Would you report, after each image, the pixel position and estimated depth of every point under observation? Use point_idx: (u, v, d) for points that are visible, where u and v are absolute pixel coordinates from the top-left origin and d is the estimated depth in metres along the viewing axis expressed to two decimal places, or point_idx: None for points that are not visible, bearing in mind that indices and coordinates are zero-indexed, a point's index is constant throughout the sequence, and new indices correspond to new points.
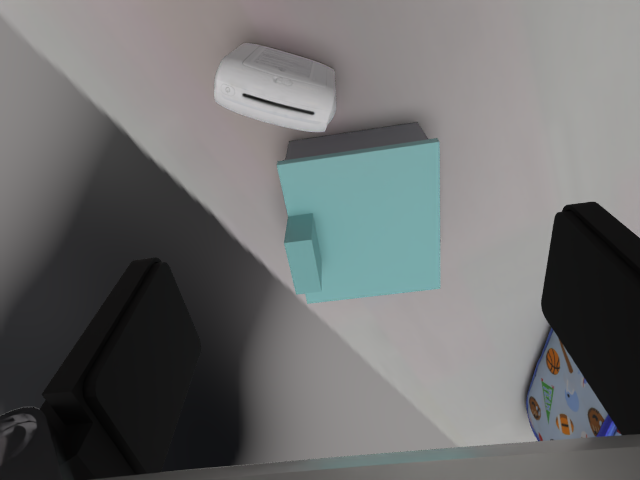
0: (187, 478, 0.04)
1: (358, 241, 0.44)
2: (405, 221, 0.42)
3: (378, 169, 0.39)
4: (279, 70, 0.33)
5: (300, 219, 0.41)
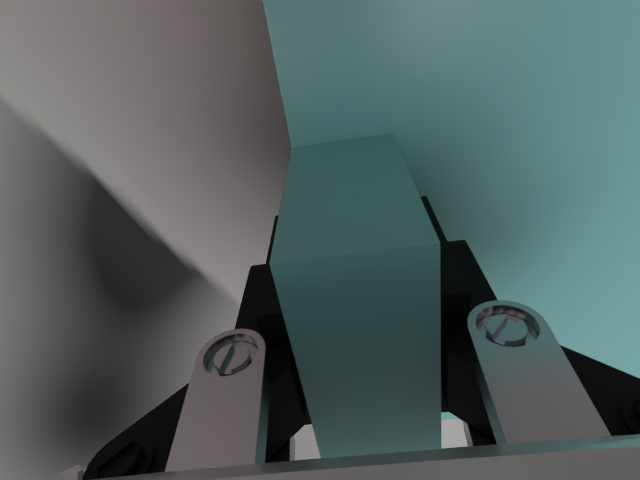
0: (187, 478, 0.04)
1: (547, 248, 0.12)
2: None
3: None
4: None
5: (345, 154, 0.10)
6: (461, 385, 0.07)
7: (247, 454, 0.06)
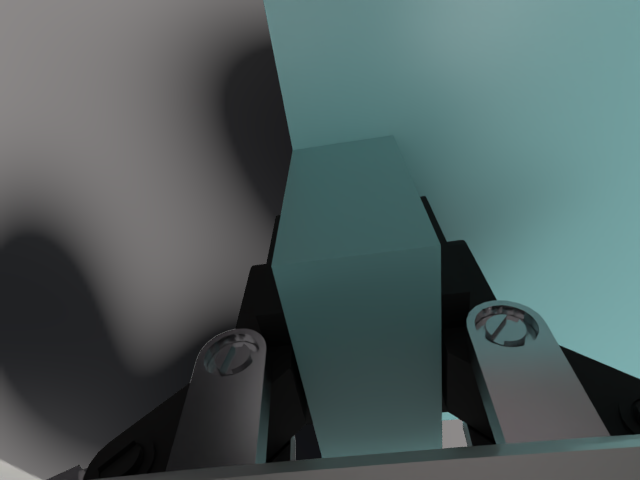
0: (187, 478, 0.04)
1: (548, 249, 0.12)
2: None
3: None
4: None
5: (346, 156, 0.10)
6: (460, 385, 0.07)
7: (248, 454, 0.05)
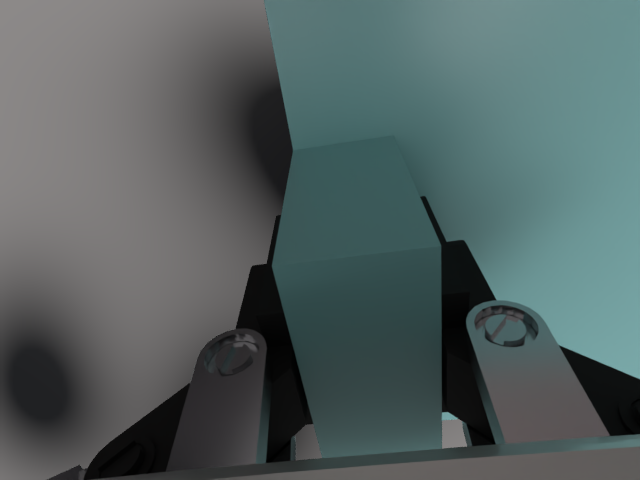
0: (187, 478, 0.04)
1: (547, 249, 0.12)
2: None
3: None
4: None
5: (346, 156, 0.10)
6: (460, 385, 0.07)
7: (248, 454, 0.05)
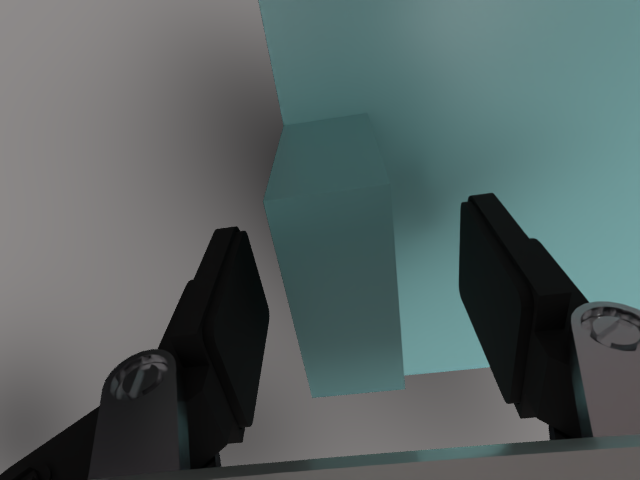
0: (187, 478, 0.04)
1: None
2: None
3: None
4: None
5: (327, 129, 0.12)
6: (559, 391, 0.07)
7: (171, 464, 0.06)
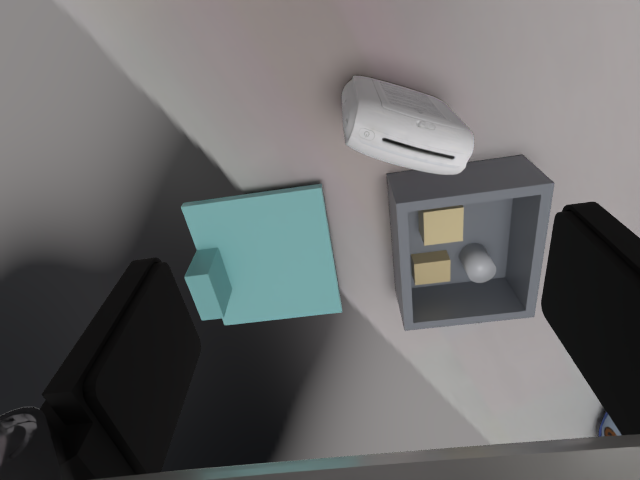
0: (187, 478, 0.04)
1: (262, 271, 0.49)
2: (302, 254, 0.47)
3: (271, 210, 0.45)
4: (418, 112, 0.31)
5: (205, 253, 0.46)
6: None
7: None
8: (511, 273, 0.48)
